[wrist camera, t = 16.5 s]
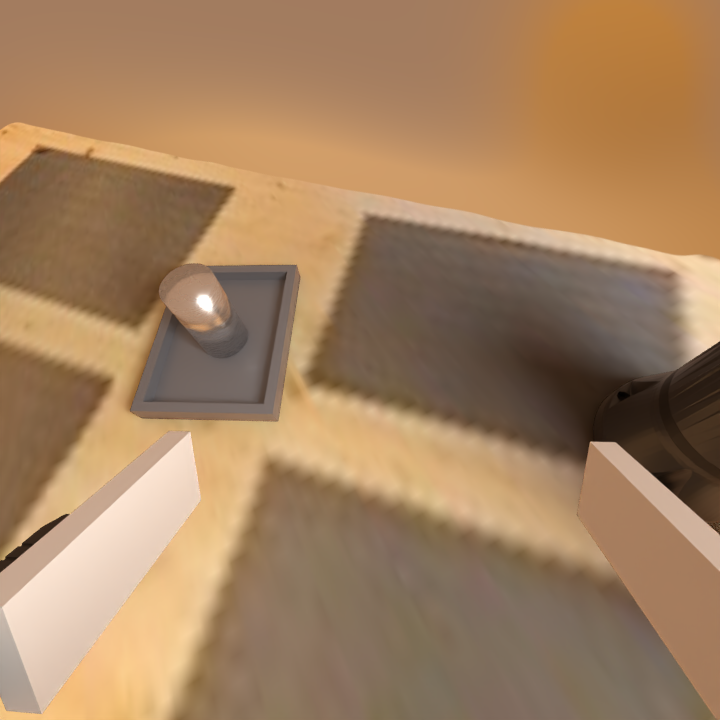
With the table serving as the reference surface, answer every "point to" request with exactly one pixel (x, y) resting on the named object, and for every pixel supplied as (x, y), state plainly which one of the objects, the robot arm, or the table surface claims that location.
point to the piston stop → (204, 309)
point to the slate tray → (226, 375)
